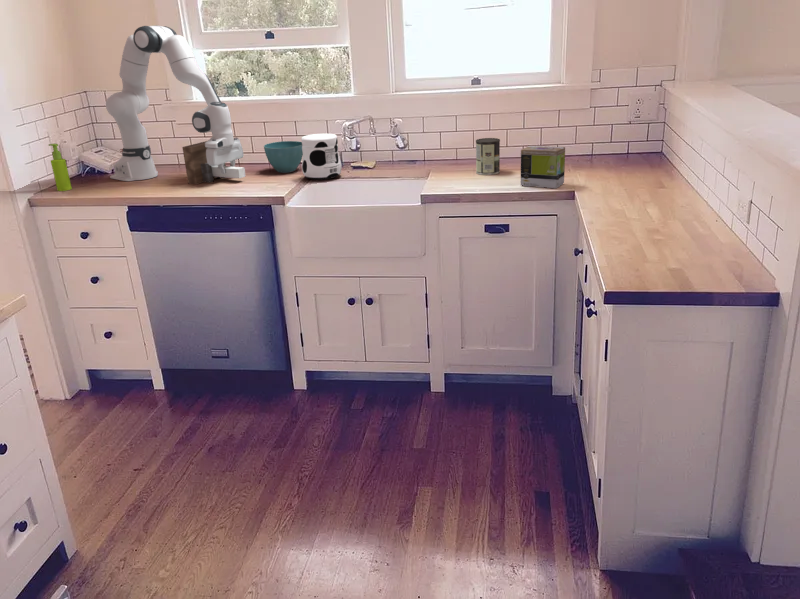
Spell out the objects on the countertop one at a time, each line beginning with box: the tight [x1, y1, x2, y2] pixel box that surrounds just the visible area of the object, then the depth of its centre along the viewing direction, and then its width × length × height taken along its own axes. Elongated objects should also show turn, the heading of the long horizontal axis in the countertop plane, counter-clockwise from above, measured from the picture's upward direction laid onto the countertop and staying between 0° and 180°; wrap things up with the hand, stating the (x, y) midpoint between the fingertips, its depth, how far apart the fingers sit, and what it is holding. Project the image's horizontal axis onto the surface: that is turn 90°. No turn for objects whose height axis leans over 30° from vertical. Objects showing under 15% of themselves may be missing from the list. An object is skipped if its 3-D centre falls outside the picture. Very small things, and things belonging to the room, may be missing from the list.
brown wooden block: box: [181, 140, 227, 185], centre depth 313 cm, size 8×20×16 cm, turn 152°
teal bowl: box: [263, 140, 303, 174], centre depth 323 cm, size 18×18×12 cm
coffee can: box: [475, 137, 501, 176], centre depth 301 cm, size 10×10×14 cm
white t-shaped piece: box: [205, 163, 246, 179], centre depth 310 cm, size 17×8×6 cm, turn 62°
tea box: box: [520, 145, 566, 189], centre depth 275 cm, size 15×10×15 cm, turn 59°
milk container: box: [301, 133, 342, 181], centre depth 305 cm, size 17×17×18 cm
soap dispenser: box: [48, 143, 73, 192], centre depth 306 cm, size 6×7×20 cm
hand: (227, 172), depth 310 cm, fingers closed on white t-shaped piece, 4 cm apart
